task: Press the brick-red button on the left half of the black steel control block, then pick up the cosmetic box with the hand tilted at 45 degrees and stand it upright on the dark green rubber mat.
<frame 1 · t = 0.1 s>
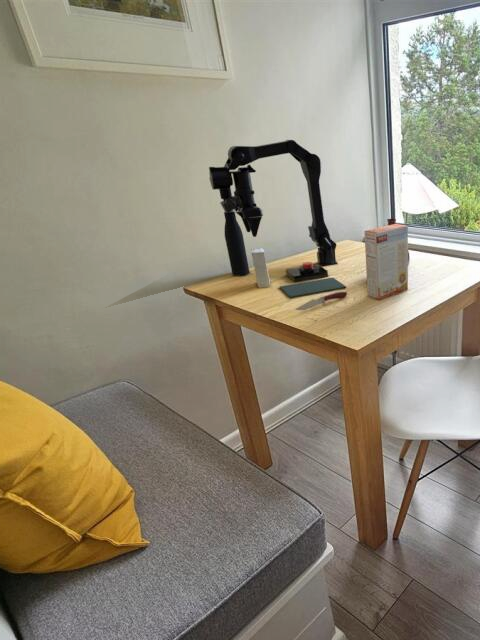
hand: (251, 234, 155), 15 cm above the table, tool pointing down, fingers open, 9 cm apart
knife: (322, 306, 133), on the table
round-bottom flask: (391, 277, 157), on the table
mat: (312, 288, 147), on the table
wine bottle: (241, 274, 163), on the table
cracker box: (387, 293, 142), on the table
cosmetic box: (263, 285, 151), on the table
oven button: (308, 265, 155), point 4 cm above the table, slide at 0.1 cm
control block: (307, 275, 159), on the table
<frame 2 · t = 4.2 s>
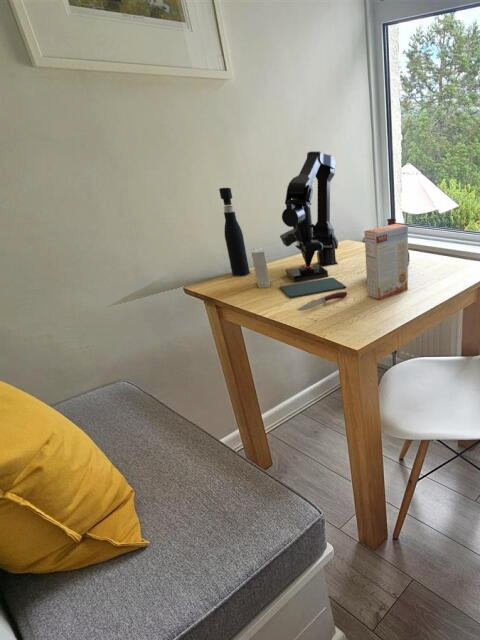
hand: (308, 266, 155), 4 cm above the table, tool pointing down, fingers closed, pressing on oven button
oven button: (308, 268, 155), point 3 cm above the table, slide at -0.9 cm, touching gripper
everything else where it was.
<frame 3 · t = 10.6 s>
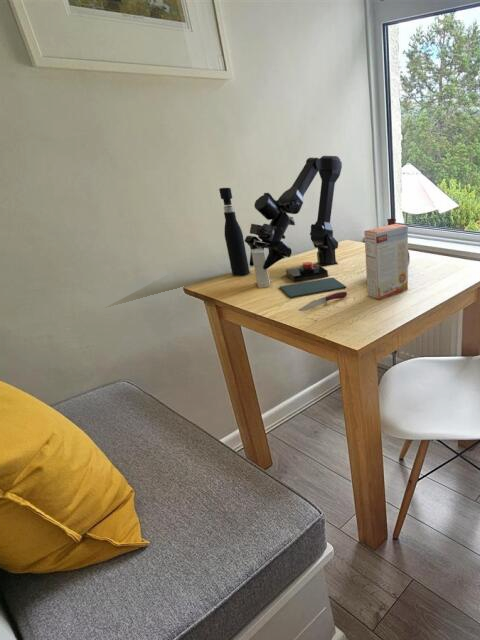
hand: (257, 267, 147), 7 cm above the table, tool tilted 45°, fingers closed on cosmetic box, 7 cm apart
cosmetic box: (263, 285, 151), on the table, touching gripper
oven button: (308, 265, 155), point 4 cm above the table, slide at 0.1 cm
everything else where it was.
when the fingers open (7 cm above the table, at t = 17.8 s): cosmetic box stays where it is, resting on mat.
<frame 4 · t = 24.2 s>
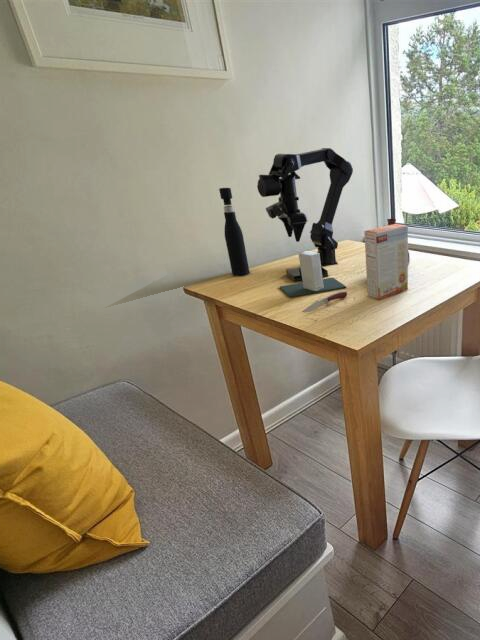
hand: (293, 239, 159), 12 cm above the table, tool pointing down, fingers open, 9 cm apart
cosmetic box: (313, 289, 145), resting on mat
at the end: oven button pushed in 1.1 cm at the most during the clip, back to where it started at the end; cosmetic box inside the target area on the mat (1.9 cm from its centre), point 0.4 cm above the mat's base; cosmetic box tilted 0° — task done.
